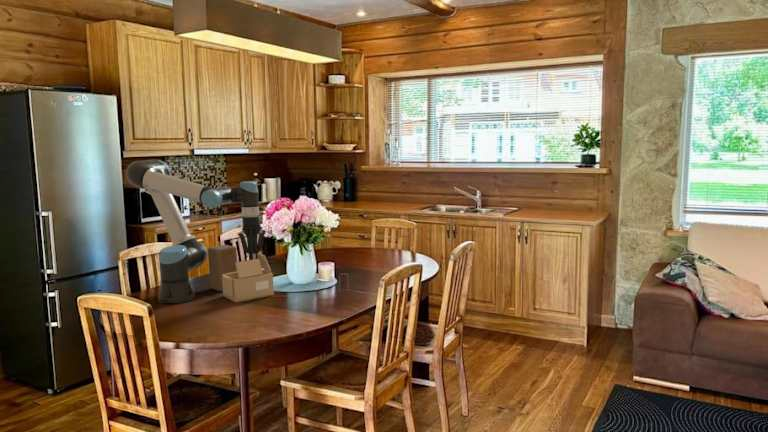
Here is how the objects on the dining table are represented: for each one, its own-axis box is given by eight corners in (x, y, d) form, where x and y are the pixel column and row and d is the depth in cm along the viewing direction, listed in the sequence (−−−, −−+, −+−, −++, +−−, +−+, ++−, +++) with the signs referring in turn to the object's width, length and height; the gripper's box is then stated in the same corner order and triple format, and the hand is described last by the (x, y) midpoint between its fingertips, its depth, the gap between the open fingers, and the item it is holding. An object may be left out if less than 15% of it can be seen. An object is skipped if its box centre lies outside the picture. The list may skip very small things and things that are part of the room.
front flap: (238, 278, 251) (239, 277, 250) (235, 262, 252) (235, 262, 252) (262, 274, 257) (262, 273, 257) (258, 259, 259) (259, 258, 258)
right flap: (264, 256, 259) (264, 255, 259) (254, 252, 267) (255, 252, 267) (270, 271, 262) (271, 270, 262) (260, 267, 270) (261, 267, 270)
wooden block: (239, 287, 276) (237, 246, 273) (220, 292, 269) (218, 249, 266) (228, 284, 283) (225, 244, 280) (209, 288, 276) (206, 247, 273)
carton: (234, 303, 250) (233, 280, 249) (220, 296, 262) (219, 274, 261) (274, 295, 261) (273, 273, 260) (259, 288, 273) (258, 267, 272)
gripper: (240, 218, 253) (244, 271, 256) (267, 215, 261) (270, 266, 264) (233, 216, 259) (237, 268, 262) (260, 214, 267) (263, 264, 270)
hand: (253, 267), depth 263 cm, fingers closed
